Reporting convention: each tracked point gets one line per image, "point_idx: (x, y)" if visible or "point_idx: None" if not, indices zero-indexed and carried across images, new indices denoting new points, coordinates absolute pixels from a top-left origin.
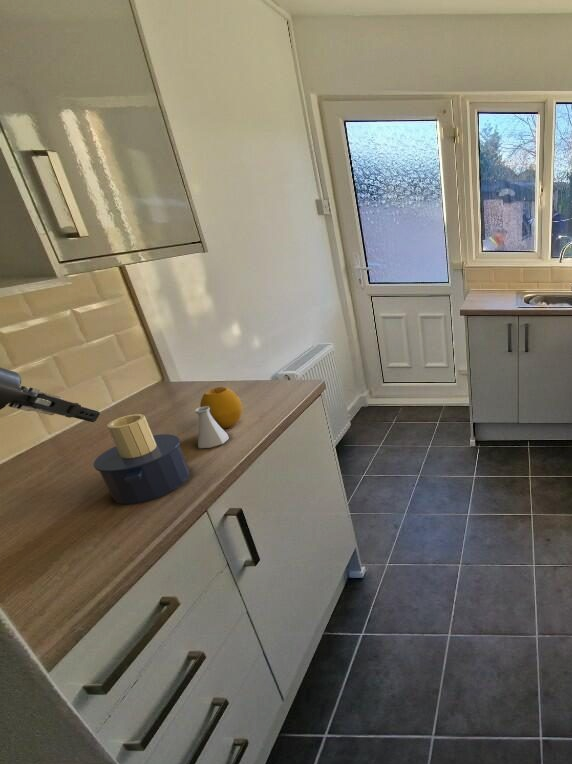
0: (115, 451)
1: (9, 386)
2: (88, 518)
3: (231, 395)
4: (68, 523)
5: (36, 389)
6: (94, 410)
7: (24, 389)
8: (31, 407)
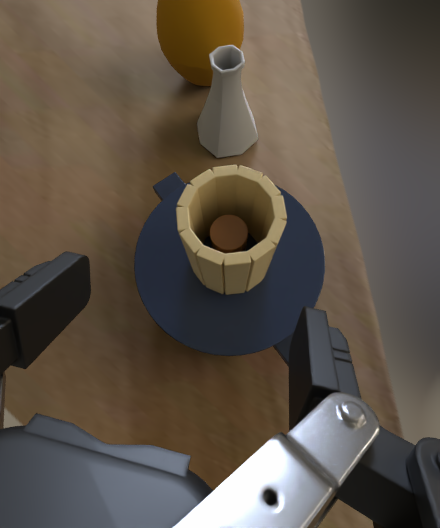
0: (164, 264)
1: None
2: (192, 403)
3: None
4: (164, 422)
5: None
6: (328, 325)
7: None
8: None
